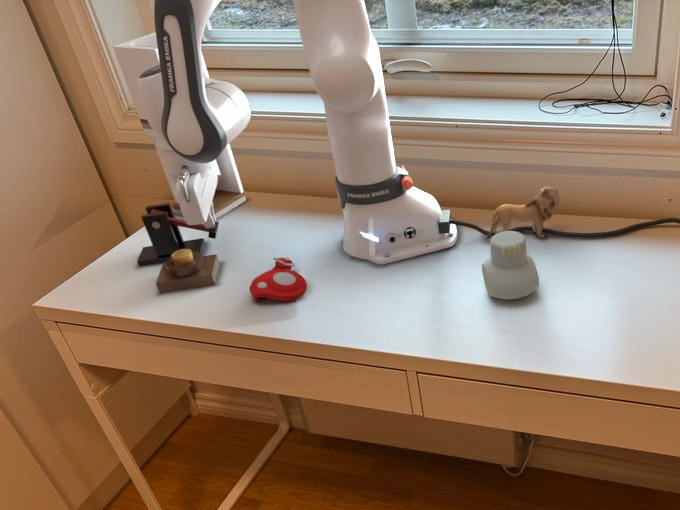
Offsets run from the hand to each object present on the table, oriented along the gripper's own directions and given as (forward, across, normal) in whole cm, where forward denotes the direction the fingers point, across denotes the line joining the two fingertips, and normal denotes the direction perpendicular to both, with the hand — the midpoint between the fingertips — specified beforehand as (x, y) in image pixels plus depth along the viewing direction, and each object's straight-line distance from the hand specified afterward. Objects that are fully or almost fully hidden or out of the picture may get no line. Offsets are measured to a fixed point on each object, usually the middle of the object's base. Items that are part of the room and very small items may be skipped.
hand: (211, 224), depth 138 cm
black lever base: (+5, 0, +9) cm, 10 cm away
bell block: (+5, -11, +4) cm, 13 cm away
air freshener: (+5, -33, -53) cm, 63 cm away
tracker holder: (+5, -20, -14) cm, 25 cm away
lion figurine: (+5, -14, -60) cm, 62 cm away
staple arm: (0, 0, +5) cm, 5 cm away
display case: (+5, +21, +4) cm, 22 cm away
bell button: (+1, -11, +4) cm, 12 cm away
